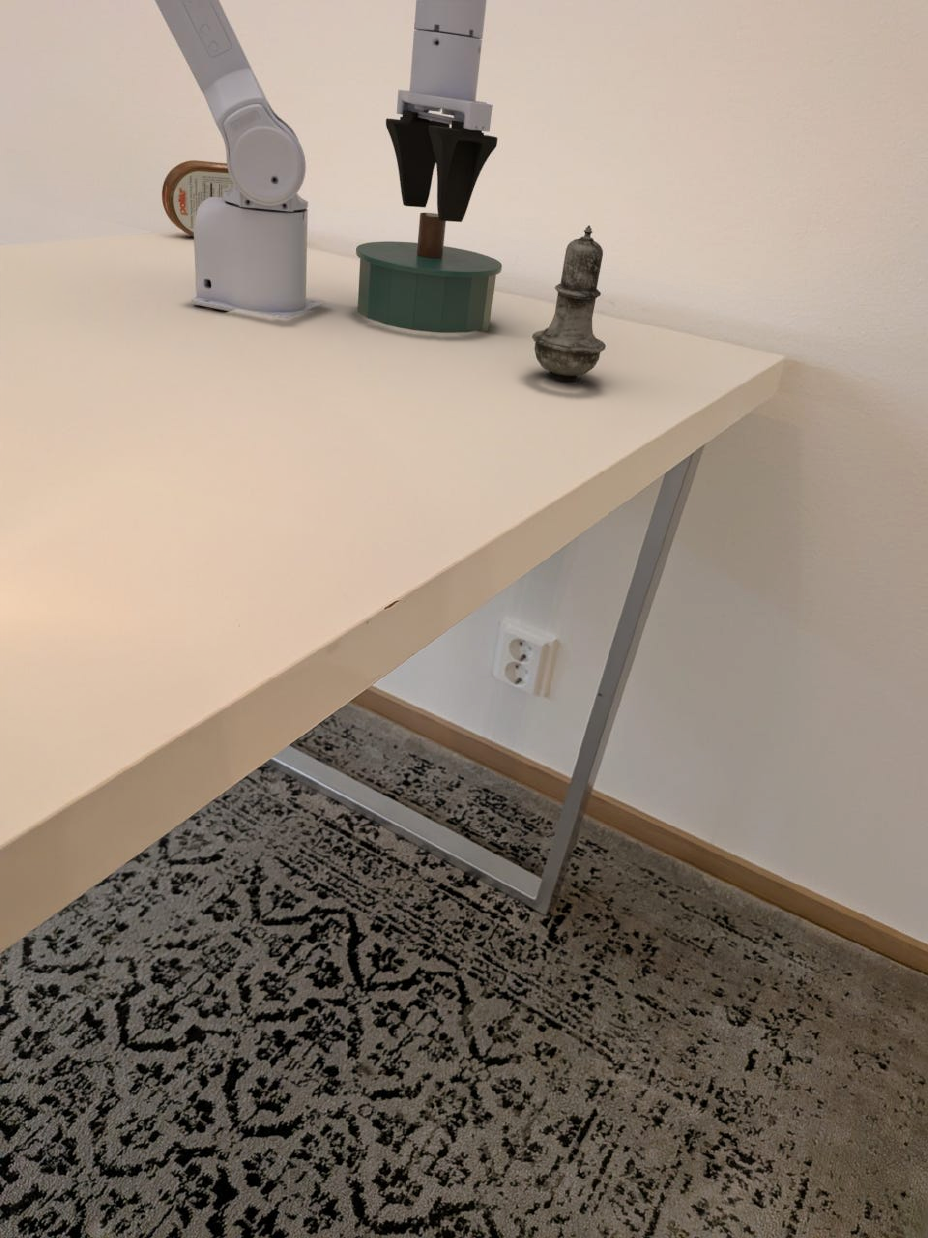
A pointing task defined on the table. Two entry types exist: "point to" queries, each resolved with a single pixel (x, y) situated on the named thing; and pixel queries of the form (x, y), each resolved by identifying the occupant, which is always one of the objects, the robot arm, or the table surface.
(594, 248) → the salt shaker
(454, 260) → the lid
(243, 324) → the table surface
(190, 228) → the tin
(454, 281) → the canister
